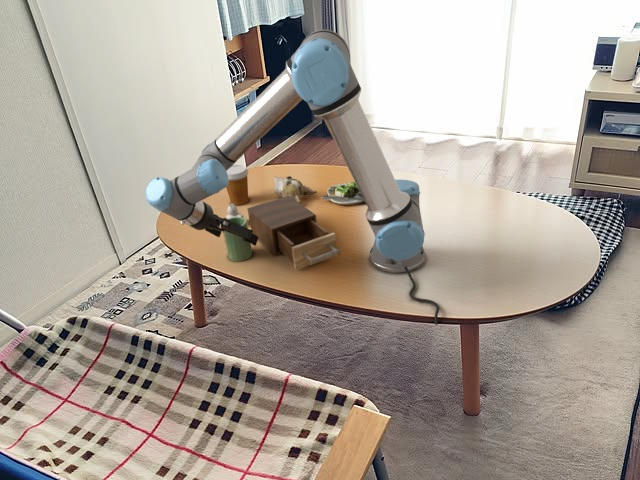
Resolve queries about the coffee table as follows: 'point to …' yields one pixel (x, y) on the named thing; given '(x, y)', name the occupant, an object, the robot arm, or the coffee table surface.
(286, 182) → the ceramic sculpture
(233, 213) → the white animal figurine
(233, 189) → the disposable coffee cup
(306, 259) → the drawer
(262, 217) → the cabinet
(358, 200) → the avocado toast plate
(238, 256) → the pot
